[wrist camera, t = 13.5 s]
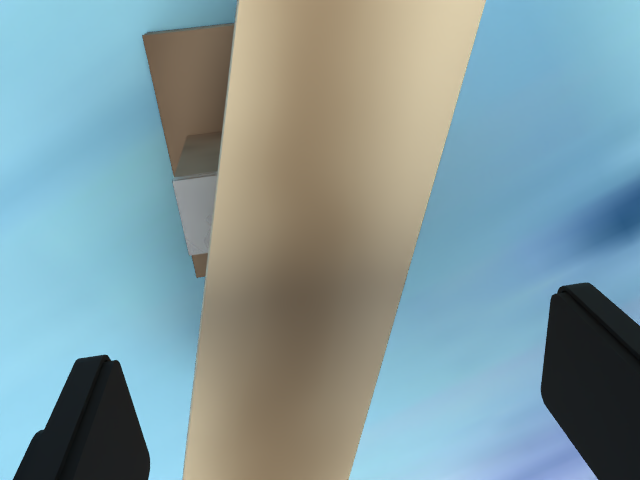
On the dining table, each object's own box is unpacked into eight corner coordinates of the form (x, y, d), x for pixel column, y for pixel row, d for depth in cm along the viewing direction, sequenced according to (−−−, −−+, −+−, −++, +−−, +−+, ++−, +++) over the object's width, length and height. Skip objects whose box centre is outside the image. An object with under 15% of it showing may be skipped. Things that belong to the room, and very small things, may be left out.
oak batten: (443, -151, 16) (548, -219, 11) (304, 447, 26) (322, 570, 20) (260, -202, 15) (274, -306, 10) (186, 443, 25) (172, 572, 19)
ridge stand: (364, 8, 25) (415, 18, 18) (375, 238, 30) (419, 316, 23) (147, 32, 24) (110, 53, 17) (198, 264, 30) (186, 354, 22)
